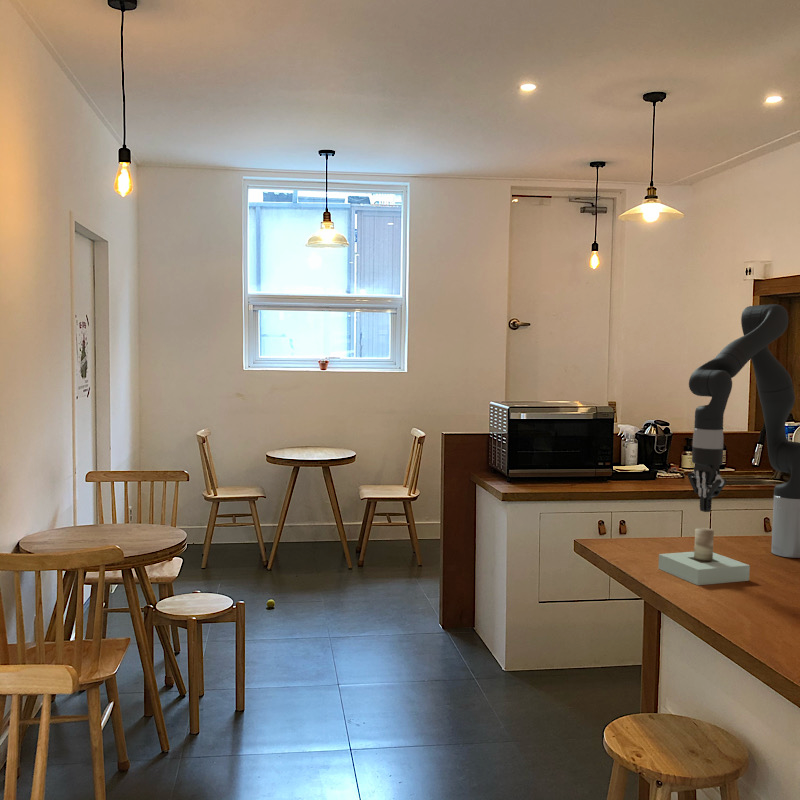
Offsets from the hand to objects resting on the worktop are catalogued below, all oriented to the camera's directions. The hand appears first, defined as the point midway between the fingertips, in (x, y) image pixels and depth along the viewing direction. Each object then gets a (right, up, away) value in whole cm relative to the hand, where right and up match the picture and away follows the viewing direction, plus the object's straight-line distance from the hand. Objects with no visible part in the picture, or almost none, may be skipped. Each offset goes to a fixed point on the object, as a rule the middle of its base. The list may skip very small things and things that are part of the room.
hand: (705, 511), depth 213 cm
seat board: (0, -17, +1) cm, 17 cm away
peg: (0, -17, +1) cm, 17 cm away
